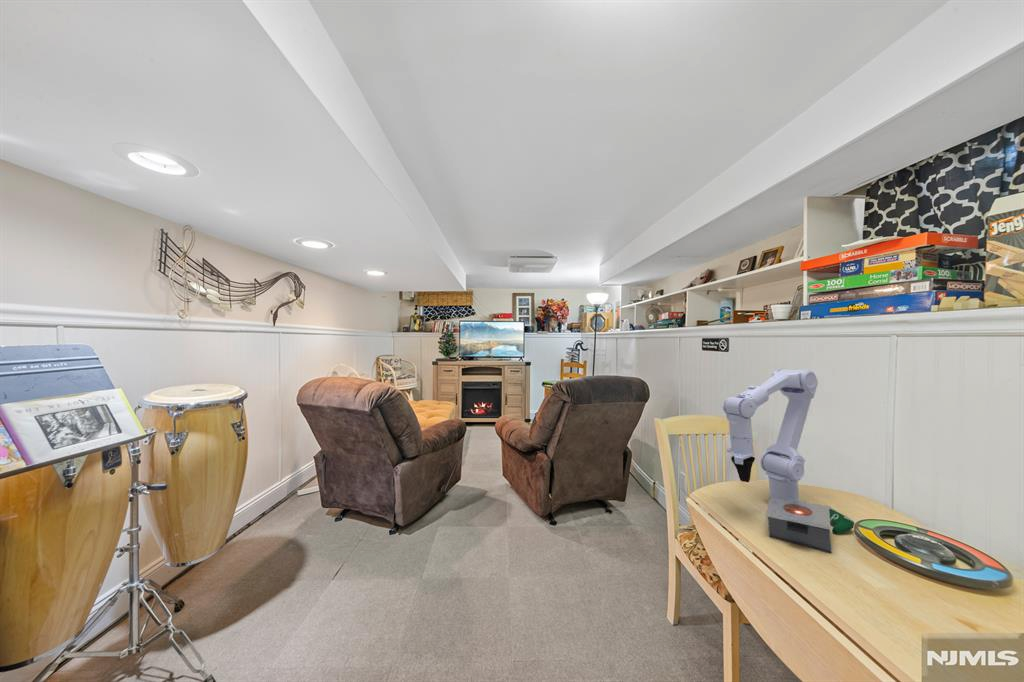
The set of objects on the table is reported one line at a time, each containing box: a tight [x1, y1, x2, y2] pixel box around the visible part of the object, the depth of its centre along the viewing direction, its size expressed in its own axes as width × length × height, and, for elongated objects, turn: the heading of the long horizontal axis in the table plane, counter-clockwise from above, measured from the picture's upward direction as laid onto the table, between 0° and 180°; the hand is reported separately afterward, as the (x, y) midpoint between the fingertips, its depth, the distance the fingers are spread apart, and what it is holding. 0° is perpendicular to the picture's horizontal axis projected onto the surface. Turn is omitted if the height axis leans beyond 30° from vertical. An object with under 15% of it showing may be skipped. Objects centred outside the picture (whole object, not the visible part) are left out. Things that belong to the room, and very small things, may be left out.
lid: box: [765, 496, 832, 531], centre depth 89 cm, size 13×13×1 cm
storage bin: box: [767, 517, 832, 554], centre depth 89 cm, size 16×12×6 cm
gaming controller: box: [828, 505, 855, 535], centre depth 92 cm, size 9×4×6 cm
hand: (745, 481), depth 100 cm, fingers closed
